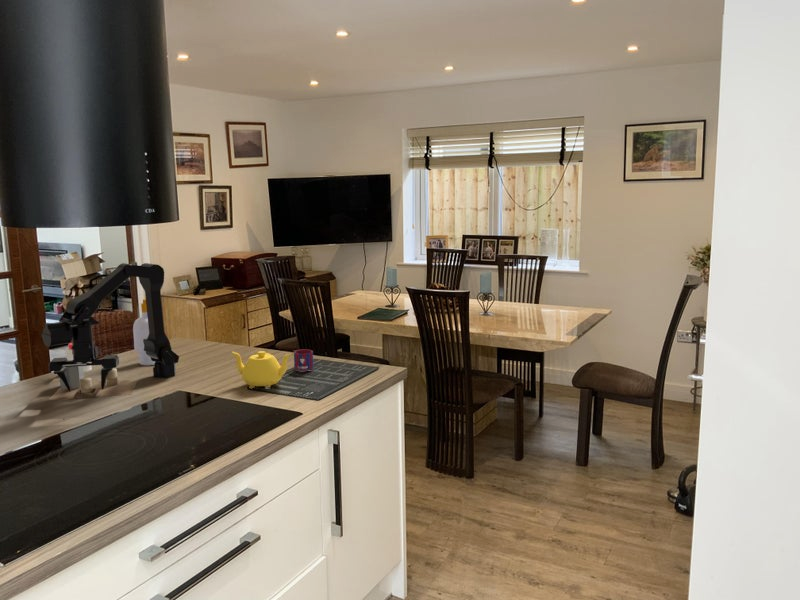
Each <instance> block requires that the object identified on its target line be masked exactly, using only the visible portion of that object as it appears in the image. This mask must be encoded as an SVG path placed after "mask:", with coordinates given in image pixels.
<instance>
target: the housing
mask: <svg viewBox="0 0 800 600" xmlns="http://www.w3.org/2000/svg"><path fill="white" fill-rule="evenodd" d="M84 374H85V372H83V366H74V367H69V376H70V382H71V389H76V388H80V379H82V378H85V377H84V376H85V375H84ZM59 385H60V387H61V389H67V387H66V385H65V384H64V382H63V381H62V379H61V378H60V377H59Z"/></svg>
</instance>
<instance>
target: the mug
mask: <svg viewBox="0 0 800 600" xmlns="http://www.w3.org/2000/svg"><path fill="white" fill-rule="evenodd" d="M293 366H294V369H295V370H298V371H308V370H312V369H313V370H314V350H311V349H305V348H304V349H297V350H295V351H293ZM295 370H294V371H295Z"/></svg>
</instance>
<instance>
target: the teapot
mask: <svg viewBox="0 0 800 600" xmlns="http://www.w3.org/2000/svg"><path fill="white" fill-rule="evenodd" d="M231 353H232V354H233V355H234V356H235V358H236V369H237V372H238V373H239V374H240V375H241V378H242V379H241V380H243V381H244V383H245V384H247V385H248V387H249V388H253V387H255V386H256V387H264V388H265V387H270V386H272V385H276V384H278V383H279V382H280V380H281V379H282V377H283V376H284V375H285V373H286V372H287V369H288V358H289V356H290V355H292V352H290V353H286V354H285V355H283V357H282V364H281V365H280V363H279V362H278V360H277V358H276V357H275V356H274V355H273V354H270V353H269V352H266V351H264V350H261V351H257V354H253V355H251V356H249V357H248V359H247V361H246V362H245V364H244V363H243V362H242V357H241V355H240V353H238V352H236V351H231ZM256 387H255V388H256Z"/></svg>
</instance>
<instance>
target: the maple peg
mask: <svg viewBox="0 0 800 600" xmlns="http://www.w3.org/2000/svg"><path fill="white" fill-rule="evenodd" d="M92 382H93V380H92V378H91V377H84V378H82V379H80V388H81V394H84V393H93V390H92Z"/></svg>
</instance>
